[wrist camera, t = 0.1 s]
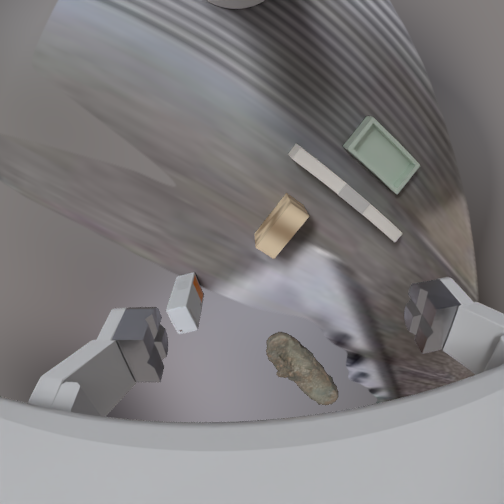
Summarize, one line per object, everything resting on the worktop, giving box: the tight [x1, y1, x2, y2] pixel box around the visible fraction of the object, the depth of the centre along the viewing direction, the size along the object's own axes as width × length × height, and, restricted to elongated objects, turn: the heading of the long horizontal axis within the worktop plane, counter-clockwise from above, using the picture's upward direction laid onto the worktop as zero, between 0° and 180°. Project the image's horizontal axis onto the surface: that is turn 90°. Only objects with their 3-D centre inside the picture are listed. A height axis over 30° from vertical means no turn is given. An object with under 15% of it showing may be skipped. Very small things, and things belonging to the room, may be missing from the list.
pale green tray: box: [342, 116, 420, 194], centre depth 53 cm, size 14×8×3 cm, turn 54°
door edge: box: [288, 144, 403, 242], centre depth 55 cm, size 26×2×5 cm, turn 54°
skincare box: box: [166, 272, 204, 334], centre depth 60 cm, size 6×4×12 cm
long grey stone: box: [266, 332, 338, 405], centre depth 78 cm, size 35×5×10 cm
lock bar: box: [255, 193, 309, 259], centre depth 57 cm, size 10×4×6 cm, turn 144°
